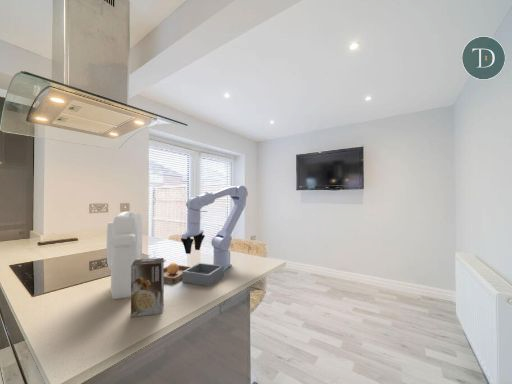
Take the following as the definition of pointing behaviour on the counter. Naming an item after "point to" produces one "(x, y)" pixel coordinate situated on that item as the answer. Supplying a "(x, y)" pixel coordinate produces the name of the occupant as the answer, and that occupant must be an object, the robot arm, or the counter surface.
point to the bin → (202, 274)
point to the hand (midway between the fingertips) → (192, 251)
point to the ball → (173, 268)
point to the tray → (174, 275)
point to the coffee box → (147, 287)
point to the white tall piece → (123, 251)
